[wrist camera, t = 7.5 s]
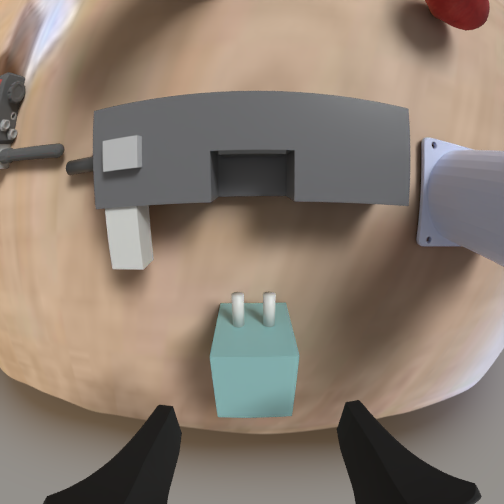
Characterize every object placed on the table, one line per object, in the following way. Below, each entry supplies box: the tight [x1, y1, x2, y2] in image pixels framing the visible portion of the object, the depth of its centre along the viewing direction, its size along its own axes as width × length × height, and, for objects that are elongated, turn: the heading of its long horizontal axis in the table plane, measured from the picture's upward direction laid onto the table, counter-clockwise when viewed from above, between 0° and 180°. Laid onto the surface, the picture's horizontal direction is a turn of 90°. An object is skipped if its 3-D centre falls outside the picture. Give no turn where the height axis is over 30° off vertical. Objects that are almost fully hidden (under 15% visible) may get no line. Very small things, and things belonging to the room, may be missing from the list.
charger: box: [210, 292, 299, 418], centre depth 16 cm, size 4×7×6 cm, turn 1°
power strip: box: [66, 91, 410, 209], centre depth 14 cm, size 21×6×5 cm, turn 91°
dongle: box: [105, 205, 154, 269], centre depth 14 cm, size 2×4×2 cm, turn 0°
